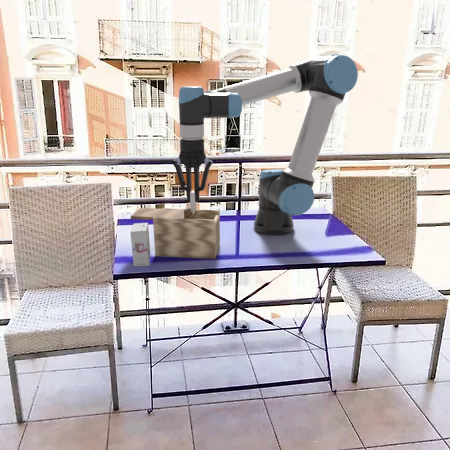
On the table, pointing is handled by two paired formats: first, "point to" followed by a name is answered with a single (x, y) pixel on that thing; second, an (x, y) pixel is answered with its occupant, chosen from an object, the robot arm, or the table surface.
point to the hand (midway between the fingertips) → (193, 210)
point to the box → (188, 235)
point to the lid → (163, 213)
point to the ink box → (140, 244)
